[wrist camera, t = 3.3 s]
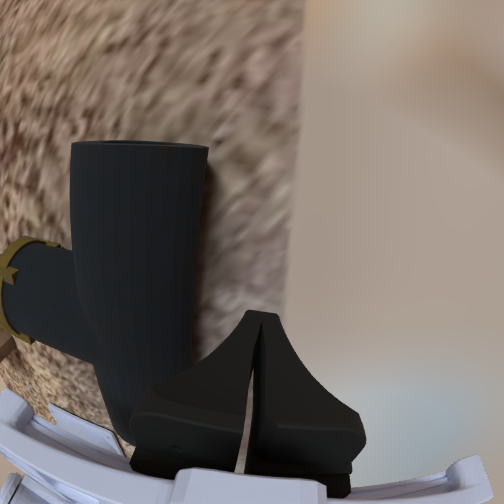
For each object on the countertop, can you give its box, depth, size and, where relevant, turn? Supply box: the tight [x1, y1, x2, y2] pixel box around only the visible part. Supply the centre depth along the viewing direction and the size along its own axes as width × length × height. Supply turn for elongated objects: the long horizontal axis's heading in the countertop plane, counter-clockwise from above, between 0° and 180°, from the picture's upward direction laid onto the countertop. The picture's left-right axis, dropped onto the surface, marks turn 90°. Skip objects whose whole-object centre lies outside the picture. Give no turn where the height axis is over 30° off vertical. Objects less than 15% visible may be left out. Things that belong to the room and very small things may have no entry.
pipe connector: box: [0, 140, 209, 447], centre depth 12 cm, size 12×5×15 cm
